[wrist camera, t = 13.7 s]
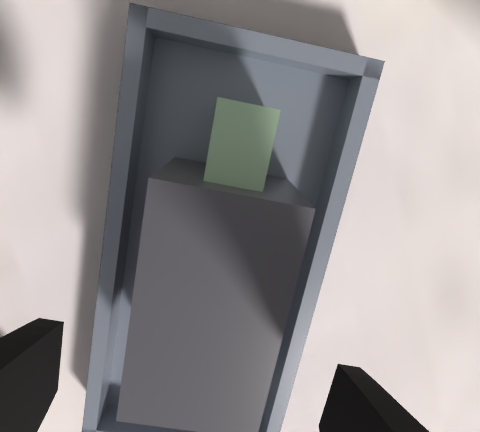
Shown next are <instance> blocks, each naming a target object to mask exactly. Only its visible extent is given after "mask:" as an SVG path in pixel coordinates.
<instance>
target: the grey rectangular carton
mask: <svg viewBox="0 0 480 432" xmlns="http://www.w3.org/2000/svg"><path fill="white" fill-rule="evenodd" d="M280 111H281V110H278V109H273V108H268V107H264V106H259V105H254V104H249V103H244V102H239V101H235V100H230V99H225V98H220V97H218V98H217V104H216V109H215V115H214V121H213V127H212V133H211V138H210V144H209V150H208V156H207V162H206V163H203V162H198V161H193V160H188V159H183V158H177V157H174V158H173V159H172V160H170V161H169V162H168V163H167V164H165V165H164V166H163V167H161V168H160V169H159V170H158V171H156V172H155V173H154V174H152V175H151V176H150V177H149V178H148V185H147V192H146V200H145V207H144V215H143V222H142V230H141V237H140V245H139V252H138V260H137V267H136V275H135V282H134V290H133V297H132V305H131V312H130V320H129V327H128V335H127V343H126V350H125V358H124V365H123V373H122V380H121V388H120V395H119V403H118V410H117V418H116V421H119V422H127V423H134V424H142V425H149V426H157V427H164V428H172V429H179V430H187V431H195V432H259V428H260V424H261V420H262V416H263V412H264V408H265V404H266V400H267V397H268V393H269V389H270V385H271V381H272V377H273V373H274V369H275V366H276V362H277V358H278V354H279V350H280V346H281V342H282V338H283V334H284V331H285V327H286V323H287V319H288V315H289V311H290V307H291V303H292V299H293V296H294V292H295V288H296V284H297V280H298V276H299V272H300V268H301V264H302V261H303V257H304V253H305V249H306V245H307V241H308V237H309V233H310V229H311V226H312V222H313V218H314V214H315V210H316V209H315V207H314V206H313V205H312V204H311V203H310V202H309V201H308V200H307V199H306V198H305V197H304V196H303V195H302V194H301V192H300V191H299V190H298V189H297V188H296V187H295V186H294V185H293V184H292V183H291V182H290V181H289V180H288V179H287V178H282V177H276V176H271V175H267V171H268V166H269V161H270V157H271V152H272V148H273V143H274V138H275V134H276V129H277V124H278V120H279V115H280Z"/></svg>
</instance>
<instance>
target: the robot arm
mask: <svg viewBox="0 0 480 432" xmlns="http://www.w3.org/2000/svg"><path fill="white" fill-rule="evenodd" d="M63 324H64V322H61V321H54V320H48V319H41V318H38V319H36V320H34V321H32V322H30V323H28V324H26V325H24V326H22V327H20V328H18V329H16V330H14V331H13V332H11V333H9V334H7V335H5V336H3V337H1V338H0V432H37V431H38V429H39V427H40V425H41V423H42V421H43V419H44V417H45V415H46V413H47V411H48V409H49V407H50V405H51V403H52V401H53V399H54V397H55V394H56V392H57V390H58V380H59V369H60V358H61V347H62V336H63ZM319 431H320V432H429V431H428V430H427V429H426V428H425V427H424V426H423V425H421V424H420V423H419V422H418V421H417V420H416V419H415V418H414V417H413V416H412V415H411V414H410V413H409V412H408V411H407V410H405V409H404V408H403V407H402V406H401V405H400V404H399V403H398V402H397V401H396V400H395V399H394V398H393V397H392V396H391V395H390V394H389V393H388V392H387V391H386V390H384V389H383V388H382V387H381V386H380V385H379V384H378V383H377V382H376V381H375V380H374V379H373V378H372V377H370V376H369V375H368V374H367V373H366V372H365V371H364V370H362V369H361V368H360V367H354V366H348V365H341V364H338V365H337V369H336V372H335V375H334V378H333V382H332V385H331V388H330V391H329V394H328V398H327V401H326V404H325V407H324V410H323V414H322V417H321V420H320V423H319Z"/></svg>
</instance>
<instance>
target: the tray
mask: <svg viewBox="0 0 480 432" xmlns="http://www.w3.org/2000/svg"><path fill="white" fill-rule="evenodd" d="M384 62H385V61H382V60H377V59H373V58H369V57H364V56H360V55H356V54H351V53H347V52H343V51H338V50H334V49H329V48H325V47H321V46H316V45H312V44H308V43H303V42H299V41H295V40H290V39H286V38H281V37H277V36H273V35H268V34H264V33H260V32H255V31H251V30H247V29H242V28H238V27H233V26H229V25H225V24H220V23H216V22H212V21H207V20H203V19H199V18H194V17H190V16H185V15H181V14H177V13H172V12H168V11H164V10H159V9H155V8H151V7H146V6H142V5H137V4H133V3H130V5H129V14H128V22H127V31H126V40H125V49H124V58H123V67H122V76H121V85H120V94H119V103H118V112H117V121H116V130H115V139H114V148H113V157H112V166H111V175H110V184H109V193H108V202H107V211H106V220H105V229H104V238H103V247H102V256H101V265H100V273H99V282H98V291H97V300H96V309H95V318H94V327H93V336H92V345H91V354H90V363H89V372H88V381H87V390H86V399H85V408H84V417H83V426H82V432H195V431H187V430H179V429H172V428H164V427H157V426H149V425H142V424H134V423H127V422H119V421H116V418H117V410H118V403H119V395H120V388H121V380H122V373H123V365H124V358H125V350H126V343H127V335H128V327H129V320H130V312H131V305H132V297H133V290H134V282H135V275H136V267H137V260H138V252H139V245H140V237H141V230H142V222H143V215H144V207H145V200H146V192H147V185H148V178H149V177H150V176H151V175H152V174H154V173H155V172H156V171H158V170H159V169H160V168H161V167H163V166H164V165H165V164H167V163H168V162H169V161H170V160H172V159H173V158H174V157H177V158H183V159H188V160H193V161H198V162H203V163H206V162H207V156H208V150H209V144H210V138H211V133H212V127H213V121H214V115H215V109H216V104H217V98H218V97H220V98H225V99H230V100H235V101H239V102H244V103H249V104H254V105H259V106H264V107H268V108H273V109H278V110H281V111H280V115H279V120H278V124H277V129H276V134H275V138H274V143H273V148H272V152H271V157H270V161H269V166H268V171H267V175H271V176H276V177H282V178H287V179H288V180H289V181H290V182H291V183H292V184H293V185H294V186H295V187H296V188H297V189H298V190H299V191H300V192H301V194H302V195H303V196H304V197H305V198H306V199H307V200H308V201H309V202H310V203H311V204H312V205H313V206H314V207H315V209H316V210H315V214H314V218H313V222H312V226H311V229H310V233H309V237H308V241H307V245H306V249H305V253H304V257H303V261H302V264H301V268H300V272H299V276H298V280H297V284H296V288H295V292H294V296H293V299H292V303H291V307H290V311H289V315H288V319H287V323H286V327H285V331H284V334H283V338H282V342H281V346H280V350H279V354H278V358H277V362H276V366H275V369H274V373H273V377H272V381H271V385H270V389H269V393H268V397H267V400H266V404H265V408H264V412H263V416H262V420H261V424H260V428H259V432H280V430H281V427H282V423H283V420H284V416H285V413H286V409H287V406H288V402H289V398H290V395H291V391H292V388H293V384H294V381H295V377H296V374H297V370H298V367H299V363H300V360H301V356H302V352H303V349H304V345H305V342H306V338H307V335H308V331H309V328H310V324H311V321H312V317H313V313H314V310H315V306H316V303H317V299H318V296H319V292H320V289H321V285H322V282H323V278H324V274H325V271H326V267H327V264H328V260H329V257H330V253H331V250H332V246H333V243H334V239H335V236H336V232H337V228H338V225H339V221H340V218H341V214H342V211H343V207H344V204H345V200H346V197H347V193H348V189H349V186H350V182H351V179H352V175H353V172H354V168H355V165H356V161H357V158H358V154H359V151H360V147H361V143H362V140H363V136H364V133H365V129H366V126H367V122H368V119H369V115H370V112H371V108H372V104H373V101H374V97H375V94H376V90H377V87H378V83H379V80H380V76H381V73H382V69H383V65H384Z"/></svg>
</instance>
